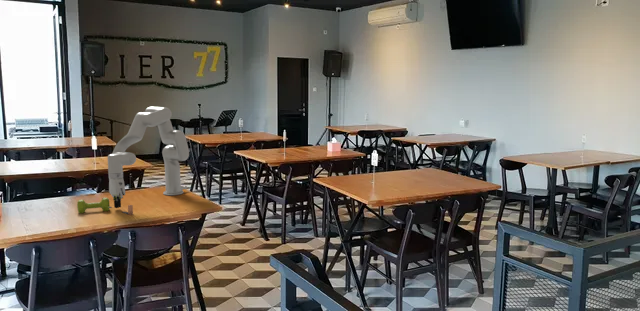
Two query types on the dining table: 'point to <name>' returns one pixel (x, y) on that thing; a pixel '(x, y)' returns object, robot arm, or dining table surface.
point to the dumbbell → (93, 205)
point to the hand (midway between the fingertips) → (117, 207)
